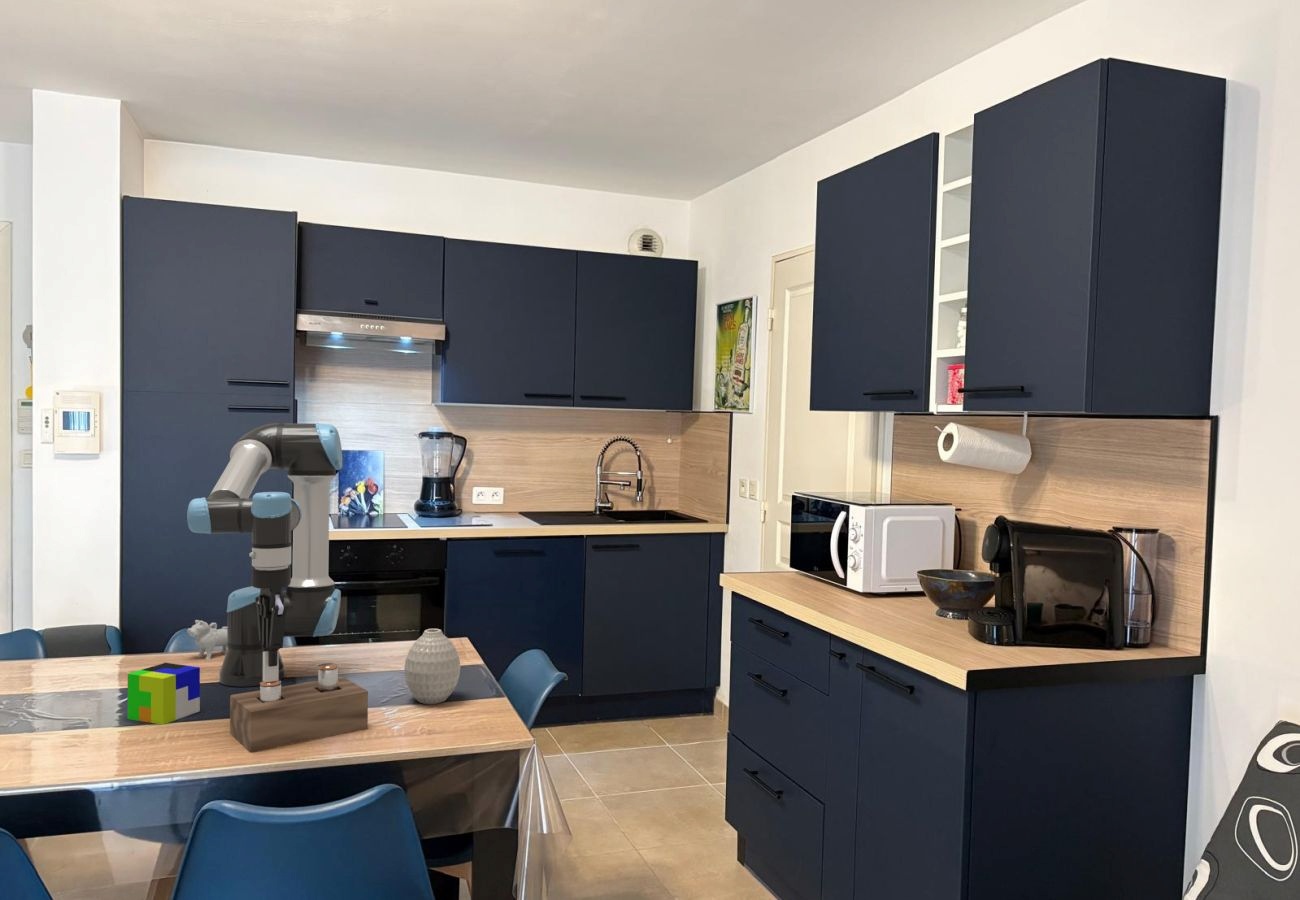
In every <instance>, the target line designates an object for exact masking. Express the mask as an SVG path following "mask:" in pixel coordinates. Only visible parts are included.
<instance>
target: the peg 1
mask: <svg viewBox="0 0 1300 900" xmlns="http://www.w3.org/2000/svg"><path fill="white" fill-rule="evenodd" d="M259 686H260V687H259V690H260V701H261V702H262V703H265V702H271V701H277V700H281V687H282V679H281V680H279V679H278V681H272V682H266V683H265V682H263V681H261V682H260V685H259Z"/></svg>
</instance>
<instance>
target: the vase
mask: <svg viewBox="0 0 1300 900" xmlns="http://www.w3.org/2000/svg"><path fill="white" fill-rule="evenodd" d="M403 669H404V680H405V683H406V686H407V688H408V691H409V692H410V693H411V695H412V696H413V698H414V699H415V700H416V701H417V702H419V703H421V704H424V705H436V704H441V703H443V702H445V701H446V700H447V699H448V698H449V697H450V696H451V694H452V693H453V692H454V690H455V688H456V687H457V685H458V681H459V680H460V674H461V661H460V656H459V653H458V651H457V648H456V646H455V645H454V643H453V642H451V640H450V639H449V637H448V636H446V635H444V633H443V631H442V629H439V628H428V629H425V630H424V631H423V633H422V635H421V636H419V638H417V639H416V640H415V642H414V643H413V644H412V645H411V647H410V649H409V650H408V652H407V654H406V658H405V661H404V668H403Z"/></svg>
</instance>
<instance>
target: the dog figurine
mask: <svg viewBox="0 0 1300 900" xmlns="http://www.w3.org/2000/svg"><path fill="white" fill-rule="evenodd" d="M194 622H195V624H193V625H192V626H191V627H188V628H187V629H186V632H187V634H188V635H189V636H190V637H192V638H195V644H196V645H197V646H198V647H199V654H198V656H197V658H204V655H205V652H206V656H205V660H206V661H207V660H212V659H211V658H212V655H213V650H214V648H216V647H217V648H218V647H222V648H221V651H220V653H222V654H226V653H227V626H222V627H221V628H219V629H217V628H218V624H217V622H211V623H210V624H208V623H207V622H206V621H203V620H199V619H196V620H194Z"/></svg>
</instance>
